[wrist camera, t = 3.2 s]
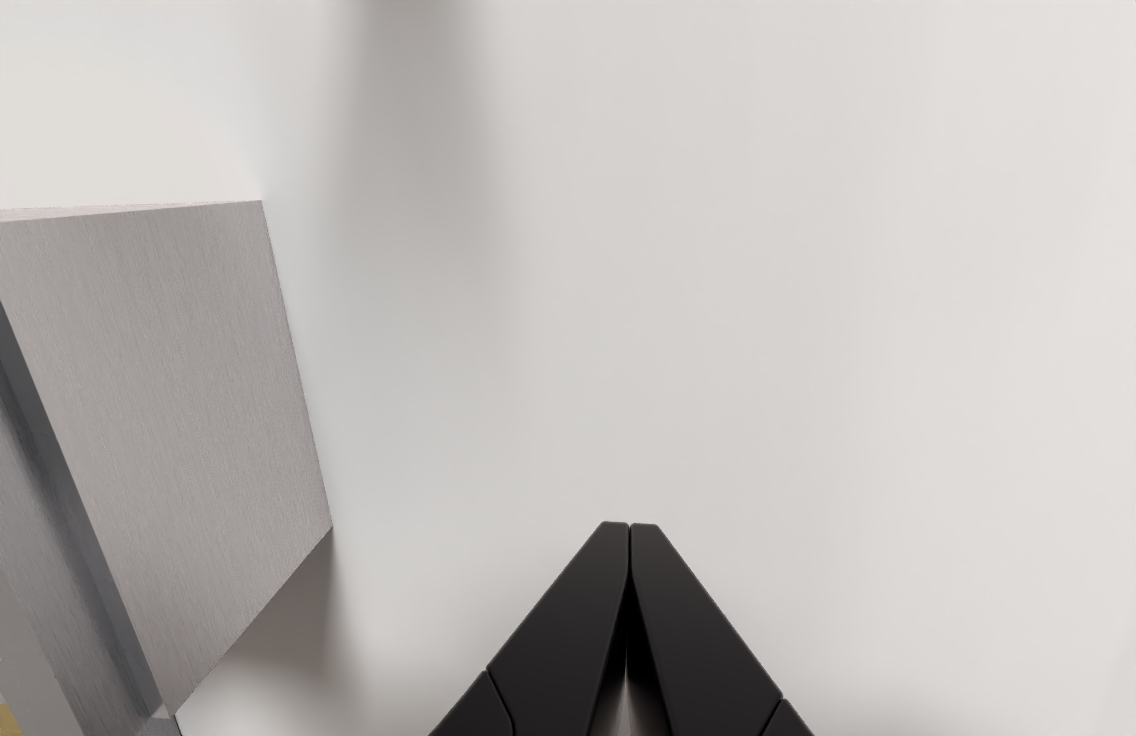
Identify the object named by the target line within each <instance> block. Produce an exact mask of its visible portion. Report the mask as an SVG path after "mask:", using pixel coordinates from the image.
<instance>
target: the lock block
mask: <svg viewBox="0 0 1136 736" xmlns="http://www.w3.org/2000/svg"><path fill="white" fill-rule="evenodd" d="M332 526H333V524H332V519H331V515H330V510H329V506H328V501H327V497H326V492H325V488H324V483H323V479H322V474H321V470H320V465H319V460H318V456H317V451H316V447H315V442H314V438H313V433H312V429H311V424H310V420H309V415H308V411H307V406H306V402H305V397H304V393H303V388H302V383H301V379H300V374H299V370H298V365H297V361H296V356H295V352H294V347H293V343H292V338H291V334H290V329H289V325H288V320H287V315H286V311H285V306H284V302H283V297H282V293H281V288H280V284H279V279H278V275H277V270H276V266H275V261H274V257H273V252H272V247H271V243H270V238H269V234H268V229H267V225H266V220H265V216H264V211H263V207H262V202H261V200H257V201H228V202H199V203H170V204H140V205H111V206H82V207H53V208H24V209H0V704H7V705H8V707H9V709H10V711H11V713H12V714H13V716H14V718H15V720H16V722H17V724H18V725H19V727H20V729H21V731H22V733H23V735H24V736H135V735H136V734H137V733H138V731H139V730H140V729H141V728H142V727H143V726H144V725H145V723H146V722H147V721H148V720H149V719H150V718H151V717H154V718H166V719H171V717H172V716H173V715H174V714H175V713H176V711H177V710H178V709H179V708H180V707H181V706H182V704H183V703H184V702H185V701H186V700H187V698H188V697H189V696H190V695H191V694H192V692H193V691H194V690H195V689H196V688H197V687H198V685H199V684H200V683H201V682H202V681H203V679H204V678H205V677H206V676H207V675H208V673H209V672H210V671H211V670H212V669H213V667H214V666H215V665H216V664H217V663H218V662H219V660H220V659H221V658H222V657H223V656H224V654H225V653H226V652H227V651H228V650H229V648H230V647H231V646H232V645H233V644H234V643H235V641H236V640H237V639H238V638H239V637H240V635H241V634H242V633H243V632H244V631H245V629H246V628H247V627H248V626H249V625H250V623H251V622H252V621H253V620H254V619H255V618H256V616H257V615H258V614H259V613H260V612H261V610H262V609H263V608H264V607H265V606H266V604H267V603H268V602H269V601H270V600H271V599H272V597H273V596H274V595H275V594H276V593H277V591H278V590H279V589H280V588H281V587H282V585H283V584H284V583H285V582H286V581H287V579H288V578H289V577H290V576H291V575H292V574H293V572H294V571H295V570H296V569H297V568H298V566H299V565H300V564H301V563H302V562H303V560H304V559H305V558H306V557H307V556H308V555H309V553H310V552H311V551H312V550H313V549H314V547H315V546H316V545H317V544H318V543H319V541H320V540H321V539H322V538H323V537H324V536H325V534H326V533H327V532H328V531H329V530H330V528H331V527H332Z"/></svg>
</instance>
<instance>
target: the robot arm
mask: <svg viewBox="0 0 1136 736" xmlns="http://www.w3.org/2000/svg"><path fill="white" fill-rule="evenodd" d="M625 668H626V683H627V698H628V708H629V718H630V728H631V736H814V734H813V733H812V732H811V731H810V729H809V728H808V727H807V725H806V724H805V723H804V721H803V720H802V719H801V717H800V716H799V715H798V713H797V712H796V711H795V709H794V708H793V706H792V705H791V704H790V702H789V701H788V700H787V699H783V694H782V692H781V691H780V689H779V688H778V687H777V685H776V684H775V683H774V681H773V680H772V679H771V677H770V676H769V674H768V673H767V672H766V670H765V669H764V668H763V666H762V665H761V664H760V662H759V661H758V660H757V658H756V657H755V656H754V654H753V653H752V652H751V650H750V649H749V648H748V646H747V645H746V643H745V642H744V641H743V639H742V638H741V637H740V635H739V634H738V633H737V631H736V630H735V629H734V627H733V626H732V625H731V623H730V622H729V621H728V619H727V618H726V617H725V615H724V614H723V613H722V611H721V610H720V608H719V607H718V606H717V604H716V603H715V602H714V600H713V599H712V598H711V596H710V595H709V594H708V592H707V591H706V590H705V588H704V587H703V586H702V584H701V583H700V582H699V580H698V579H697V578H696V576H695V575H694V573H693V572H692V571H691V569H690V568H689V567H688V565H687V564H686V563H685V561H684V560H683V559H682V557H681V556H680V555H679V553H678V552H677V551H676V549H675V548H674V547H673V545H672V544H671V543H670V541H669V540H668V538H667V537H666V536H665V534H664V533H663V532H662V530H661V529H660V528H659V527H658V526H657V525H655V524H641V523H633V524H631V526H630V531H629V525H628V524H627V523H624V522H609V521H604V522H602V523H601V524H600V525H599V526H598V527H597V529H596V530H595V531H594V532H593V534H592V535H591V536H590V537H589V539H588V540H587V541H586V542H585V544H584V545H583V546H582V547H581V549H580V550H579V551H578V552H577V554H576V555H575V556H574V557H573V559H572V560H571V561H570V562H569V564H568V565H567V566H566V567H565V569H564V570H563V571H562V573H561V574H560V575H559V576H558V578H557V579H556V580H555V581H554V583H553V584H552V585H551V586H550V588H549V589H548V590H547V591H546V593H545V594H544V595H543V596H542V598H541V599H540V600H539V601H538V603H537V604H536V605H535V606H534V608H533V609H532V610H531V611H530V613H529V614H528V615H527V616H526V618H525V619H524V620H523V621H522V623H521V624H520V625H519V626H518V628H517V629H516V630H515V631H514V633H513V634H512V635H511V636H510V638H509V639H508V640H507V641H506V643H505V644H504V645H503V646H502V648H501V649H500V650H499V651H498V653H497V654H496V655H495V656H494V658H493V659H492V660H491V661H490V663H489V664H488V665H487V667H486V671H482V672H481V673H480V675H479V676H478V677H477V678H476V680H475V681H474V682H473V683H472V685H471V686H470V687H469V689H468V690H467V691H466V692H465V694H464V695H463V696H462V697H461V698H460V699H459V701H458V702H457V703H456V704H455V705H454V707H453V708H452V709H451V710H450V711H449V712H448V714H447V715H446V716H445V717H444V718H443V719H442V721H441V722H440V723H439V724H438V725H437V726H436V728H435V729H434V730H433V731H432V732H431V733H430V734H429V735H428V736H618V730H619V723H620V716H621V709H622V702H623V693H624V684H625Z"/></svg>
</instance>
